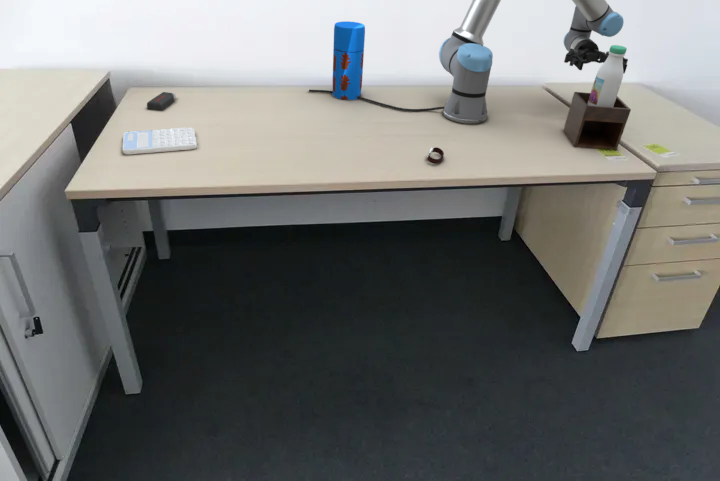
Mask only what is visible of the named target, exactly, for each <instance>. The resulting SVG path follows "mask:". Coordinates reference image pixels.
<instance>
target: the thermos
mask: <svg viewBox="0 0 720 481" xmlns="http://www.w3.org/2000/svg"><path fill="white" fill-rule="evenodd" d="M365 37H366V25H365V24H363V23H361V22H357V21H337V22H335V23H334V27H333V49H332V50H333V52H332V53H333V54H332V91H333V93H332V96H333V97H334V98H336V99H338V100H344V101H354V100H359V99H358V98H357V96H360V97H362V96H361V95H362V88H363V72H364V58H365V57H364V55H365V54H364V53H365Z"/></svg>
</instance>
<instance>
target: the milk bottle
mask: <svg viewBox="0 0 720 481" xmlns="http://www.w3.org/2000/svg"><path fill="white" fill-rule="evenodd" d="M627 50H628V49H627V47H625V46H623V45H618V44H613V45H611V46H610V47H609V51H608V52H609V56H608V58H607V59H606V61H605V62H604V63H601V65H600V67H599V68H598V69H597V70H598V71H597V73H596V75H595V78H594V81H593V84H592V87H591V90H590V92H589V93H590V97H589V100H588V103H587V105H588V106H600V107H613V106H614V103H615V100H616V97H617V96H618V95H619V91H620V88H621V85H622V82H623V78H624V73H623V57H625V56H626V52H627Z"/></svg>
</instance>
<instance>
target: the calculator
mask: <svg viewBox="0 0 720 481" xmlns="http://www.w3.org/2000/svg"><path fill="white" fill-rule="evenodd" d="M197 146H198V143H197V138H196V133H195V128H194V127H190V126H189V127H175V128H160V129H145V130H144V129H143V130H132V131H125V132H123V137H122V149H121V150H122V152H123V154H124V155H138V154H139V155H140V154H152V153H164V152H178V151H189V150H190V151H191V150H196V148H197Z"/></svg>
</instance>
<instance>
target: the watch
mask: <svg viewBox="0 0 720 481" xmlns="http://www.w3.org/2000/svg"><path fill="white" fill-rule="evenodd" d="M432 153H436V154H438V155H439V156H440V158H433V157H432V156H431V155H432ZM444 155H445V153H444V151H443V149H441V148H440V147H433V146H432V147H431V148H430V149H429V151H428V154H427V155H426V158H427V159H426V160H427V161H428V162H429V163H431V164H434V165H436V164H439V163H441V162H442V161H443V159H444Z"/></svg>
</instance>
